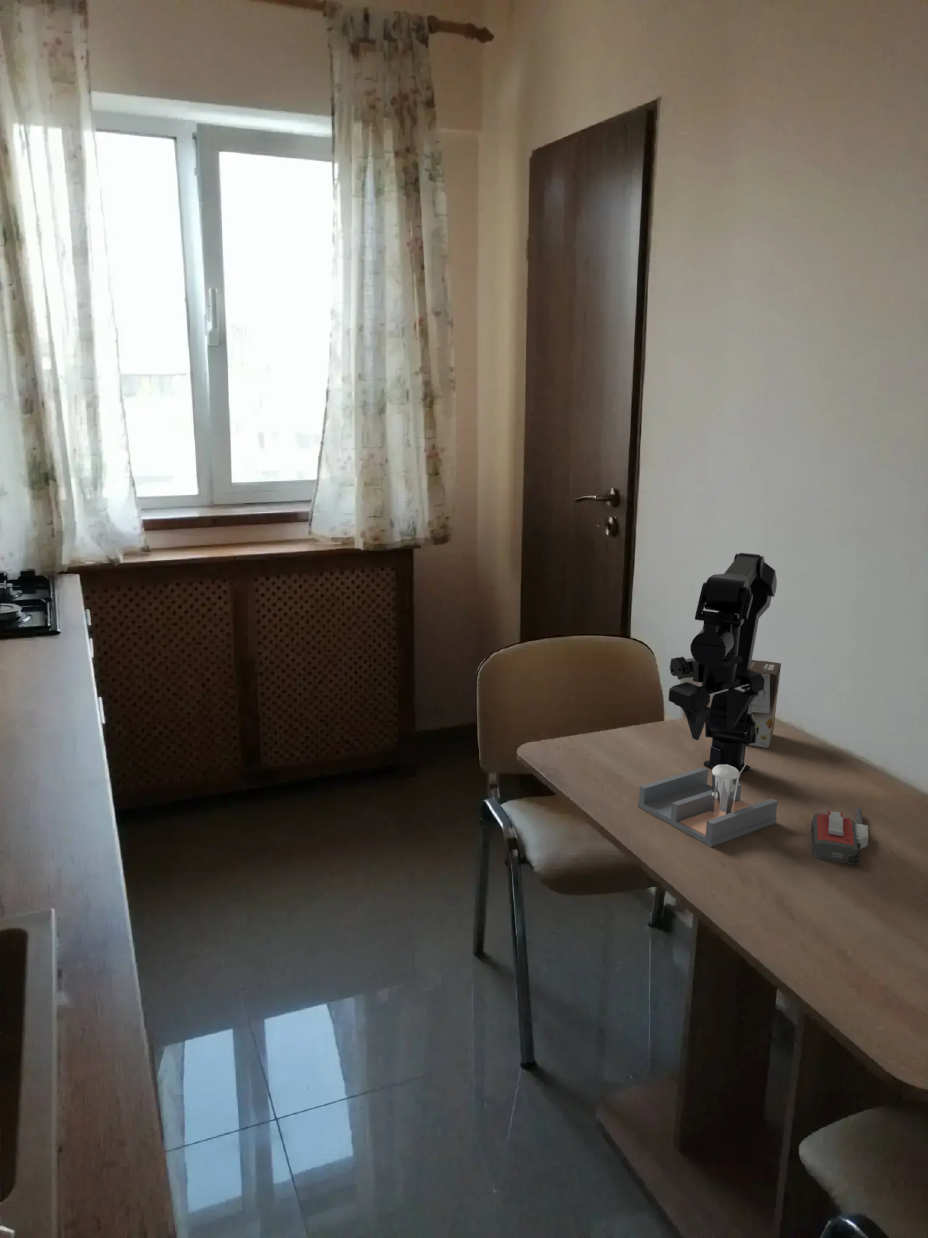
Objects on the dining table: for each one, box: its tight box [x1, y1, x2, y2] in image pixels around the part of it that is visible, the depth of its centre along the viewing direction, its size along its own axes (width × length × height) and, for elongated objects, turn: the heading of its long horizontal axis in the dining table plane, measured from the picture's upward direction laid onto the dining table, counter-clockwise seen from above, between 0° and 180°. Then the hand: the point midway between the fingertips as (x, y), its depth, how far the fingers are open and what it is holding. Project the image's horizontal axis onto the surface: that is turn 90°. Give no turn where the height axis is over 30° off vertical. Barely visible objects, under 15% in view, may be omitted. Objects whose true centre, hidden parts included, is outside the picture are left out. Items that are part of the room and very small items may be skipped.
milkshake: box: [711, 763, 747, 818], centre depth 156 cm, size 4×5×10 cm
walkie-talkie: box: [811, 807, 870, 865], centre depth 153 cm, size 9×4×20 cm
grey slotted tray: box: [637, 766, 778, 848], centre depth 160 cm, size 16×17×4 cm
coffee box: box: [745, 659, 782, 749], centre depth 193 cm, size 9×6×16 cm
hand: (713, 733), depth 163 cm, fingers open, 9 cm apart
